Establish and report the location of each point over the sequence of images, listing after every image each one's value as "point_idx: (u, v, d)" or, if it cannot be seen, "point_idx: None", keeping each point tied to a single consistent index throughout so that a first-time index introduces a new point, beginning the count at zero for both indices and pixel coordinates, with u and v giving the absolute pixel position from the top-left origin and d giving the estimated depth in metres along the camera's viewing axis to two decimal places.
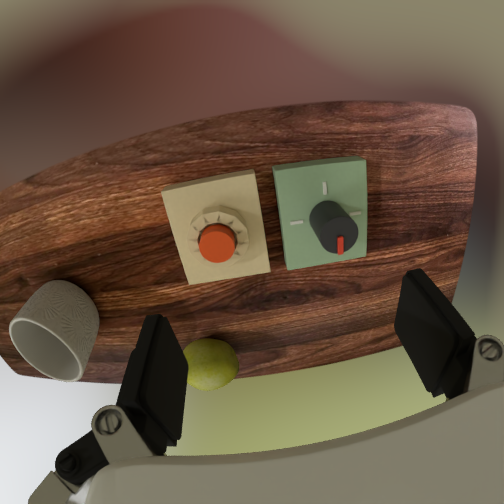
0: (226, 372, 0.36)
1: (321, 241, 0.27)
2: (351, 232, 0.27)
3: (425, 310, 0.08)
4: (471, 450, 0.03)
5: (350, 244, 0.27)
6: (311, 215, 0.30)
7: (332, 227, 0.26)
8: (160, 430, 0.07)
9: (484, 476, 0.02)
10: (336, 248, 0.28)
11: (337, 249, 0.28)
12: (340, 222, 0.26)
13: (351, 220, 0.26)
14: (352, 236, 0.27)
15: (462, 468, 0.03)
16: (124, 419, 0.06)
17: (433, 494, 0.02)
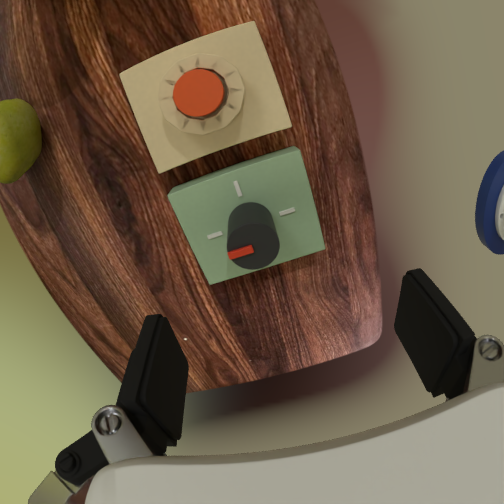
0: (5, 167, 0.17)
1: (241, 226, 0.21)
2: (260, 260, 0.22)
3: (425, 310, 0.08)
4: (471, 450, 0.03)
5: (243, 264, 0.22)
6: (252, 204, 0.24)
7: (263, 235, 0.21)
8: (160, 429, 0.07)
9: (484, 476, 0.02)
10: (234, 248, 0.22)
11: (234, 250, 0.22)
12: (271, 242, 0.22)
13: (275, 255, 0.22)
14: (254, 263, 0.22)
15: (462, 468, 0.03)
16: (124, 419, 0.06)
17: (433, 494, 0.02)
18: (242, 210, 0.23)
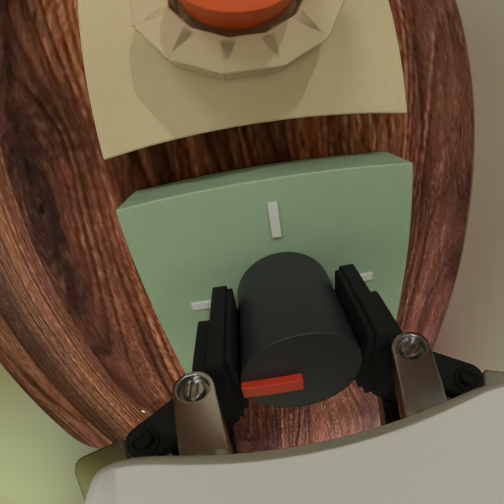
0: None
1: (289, 339, 0.08)
2: (308, 395, 0.09)
3: (349, 304, 0.09)
4: (471, 450, 0.03)
5: (270, 400, 0.09)
6: (301, 260, 0.11)
7: (334, 357, 0.08)
8: (235, 396, 0.08)
9: (484, 476, 0.02)
10: (260, 378, 0.08)
11: (258, 381, 0.08)
12: (344, 369, 0.08)
13: (342, 387, 0.09)
14: (295, 399, 0.09)
15: (462, 468, 0.03)
16: (211, 383, 0.07)
17: (433, 494, 0.02)
18: (282, 276, 0.10)
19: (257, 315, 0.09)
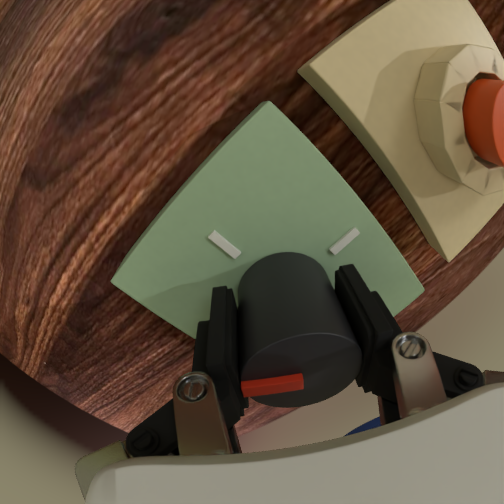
0: None
1: (291, 339, 0.08)
2: (307, 395, 0.09)
3: (349, 304, 0.09)
4: (471, 450, 0.03)
5: (269, 399, 0.09)
6: (303, 260, 0.11)
7: (335, 357, 0.08)
8: (235, 396, 0.08)
9: (484, 476, 0.02)
10: (260, 377, 0.08)
11: (258, 381, 0.08)
12: (344, 370, 0.08)
13: (341, 388, 0.09)
14: (294, 399, 0.09)
15: (462, 468, 0.03)
16: (211, 383, 0.07)
17: (433, 494, 0.02)
18: (283, 275, 0.10)
19: (258, 314, 0.09)
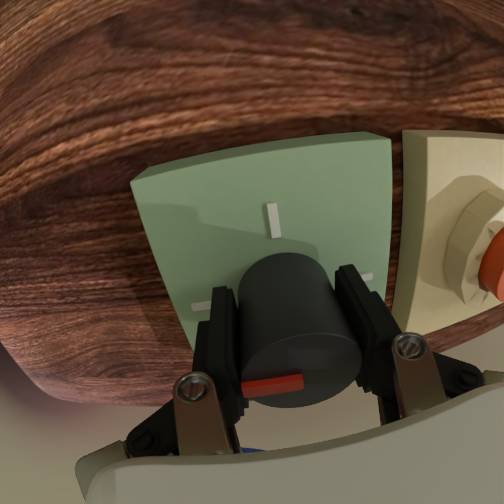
0: None
1: (290, 340, 0.08)
2: (308, 396, 0.09)
3: (349, 304, 0.09)
4: (471, 450, 0.03)
5: (270, 400, 0.09)
6: (302, 260, 0.11)
7: (335, 357, 0.08)
8: (235, 396, 0.08)
9: (484, 476, 0.02)
10: (260, 378, 0.08)
11: (258, 382, 0.08)
12: (344, 370, 0.08)
13: (342, 388, 0.09)
14: (295, 399, 0.09)
15: (462, 468, 0.03)
16: (211, 383, 0.07)
17: (433, 494, 0.02)
18: (282, 276, 0.10)
19: (258, 315, 0.09)
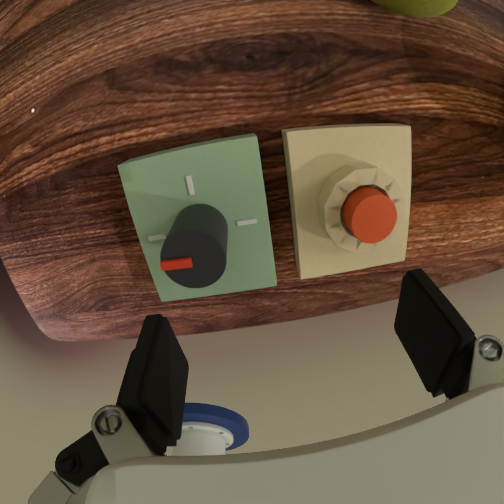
0: None
1: (181, 232, 0.16)
2: (199, 278, 0.17)
3: (425, 310, 0.08)
4: (471, 450, 0.03)
5: (178, 278, 0.17)
6: (206, 207, 0.19)
7: (207, 248, 0.17)
8: (160, 430, 0.07)
9: (484, 476, 0.02)
10: (169, 258, 0.17)
11: (168, 260, 0.17)
12: (215, 259, 0.17)
13: (219, 275, 0.17)
14: (192, 280, 0.17)
15: (462, 468, 0.03)
16: (124, 419, 0.06)
17: (433, 494, 0.02)
18: (191, 212, 0.18)
19: (173, 227, 0.17)
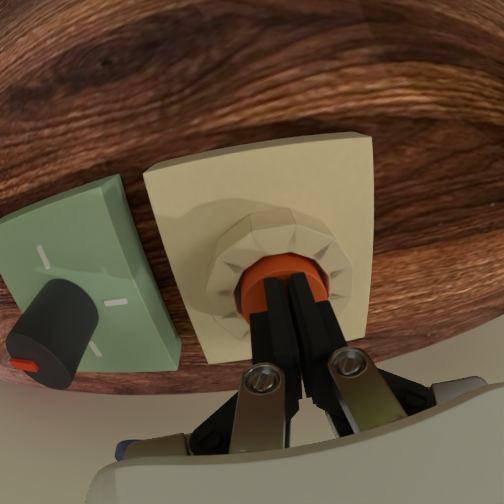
0: None
1: (13, 335, 0.09)
2: (51, 380, 0.11)
3: (294, 314, 0.09)
4: (471, 450, 0.03)
5: (34, 376, 0.11)
6: (61, 286, 0.13)
7: (41, 355, 0.10)
8: None
9: (484, 476, 0.02)
10: (16, 357, 0.10)
11: (16, 359, 0.10)
12: (56, 367, 0.10)
13: (68, 382, 0.11)
14: (46, 381, 0.11)
15: (462, 468, 0.03)
16: (282, 373, 0.07)
17: (433, 494, 0.02)
18: (40, 296, 0.12)
19: (19, 319, 0.11)
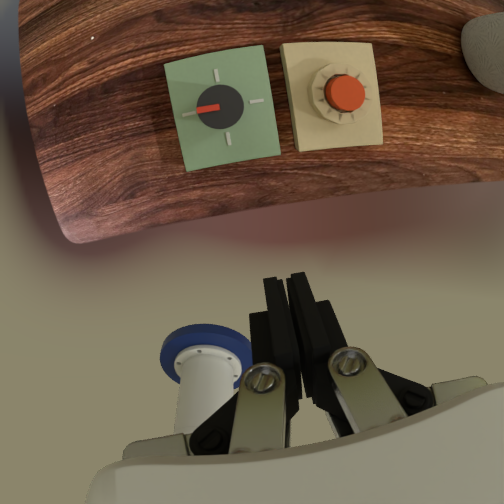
0: None
1: (213, 86, 0.21)
2: (223, 120, 0.22)
3: (294, 314, 0.09)
4: (471, 450, 0.03)
5: (208, 121, 0.22)
6: None
7: (230, 97, 0.21)
8: None
9: (484, 476, 0.02)
10: (203, 105, 0.22)
11: (202, 106, 0.22)
12: (236, 105, 0.22)
13: (238, 118, 0.22)
14: (218, 122, 0.22)
15: (462, 468, 0.03)
16: (281, 373, 0.07)
17: (433, 494, 0.02)
18: None
19: None
